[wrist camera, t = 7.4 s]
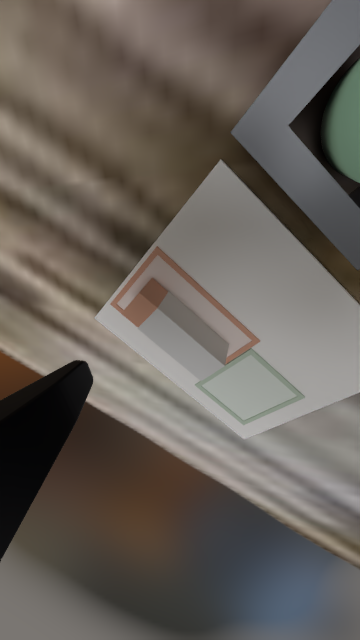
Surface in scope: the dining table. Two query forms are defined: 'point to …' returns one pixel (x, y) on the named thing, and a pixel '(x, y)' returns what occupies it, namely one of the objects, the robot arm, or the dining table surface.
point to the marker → (177, 330)
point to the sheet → (248, 309)
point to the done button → (343, 125)
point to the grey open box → (286, 148)
